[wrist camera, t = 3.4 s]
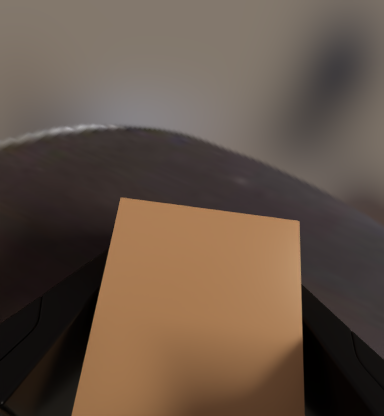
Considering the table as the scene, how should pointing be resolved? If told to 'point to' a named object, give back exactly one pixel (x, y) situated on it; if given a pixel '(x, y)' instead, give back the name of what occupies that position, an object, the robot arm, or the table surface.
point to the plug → (196, 316)
